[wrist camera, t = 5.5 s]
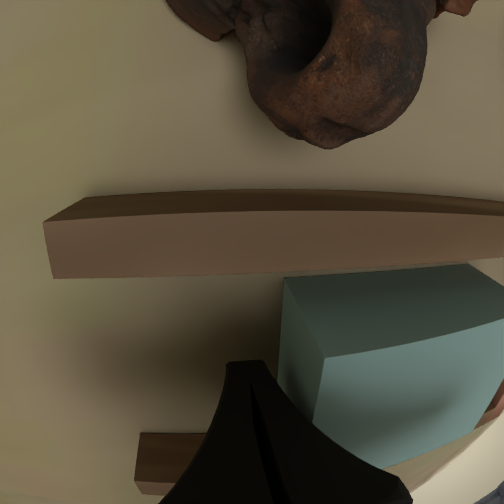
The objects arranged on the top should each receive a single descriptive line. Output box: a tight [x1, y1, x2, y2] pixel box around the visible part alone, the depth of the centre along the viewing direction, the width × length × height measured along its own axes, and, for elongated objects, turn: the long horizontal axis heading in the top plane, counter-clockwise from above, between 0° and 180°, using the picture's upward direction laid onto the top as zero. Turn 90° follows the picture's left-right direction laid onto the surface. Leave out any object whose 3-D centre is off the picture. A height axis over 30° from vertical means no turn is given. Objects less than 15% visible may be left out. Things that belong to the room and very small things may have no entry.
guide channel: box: [43, 189, 504, 496], centre depth 11 cm, size 13×22×3 cm, turn 90°
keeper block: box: [277, 264, 504, 469], centre depth 11 cm, size 7×9×4 cm
